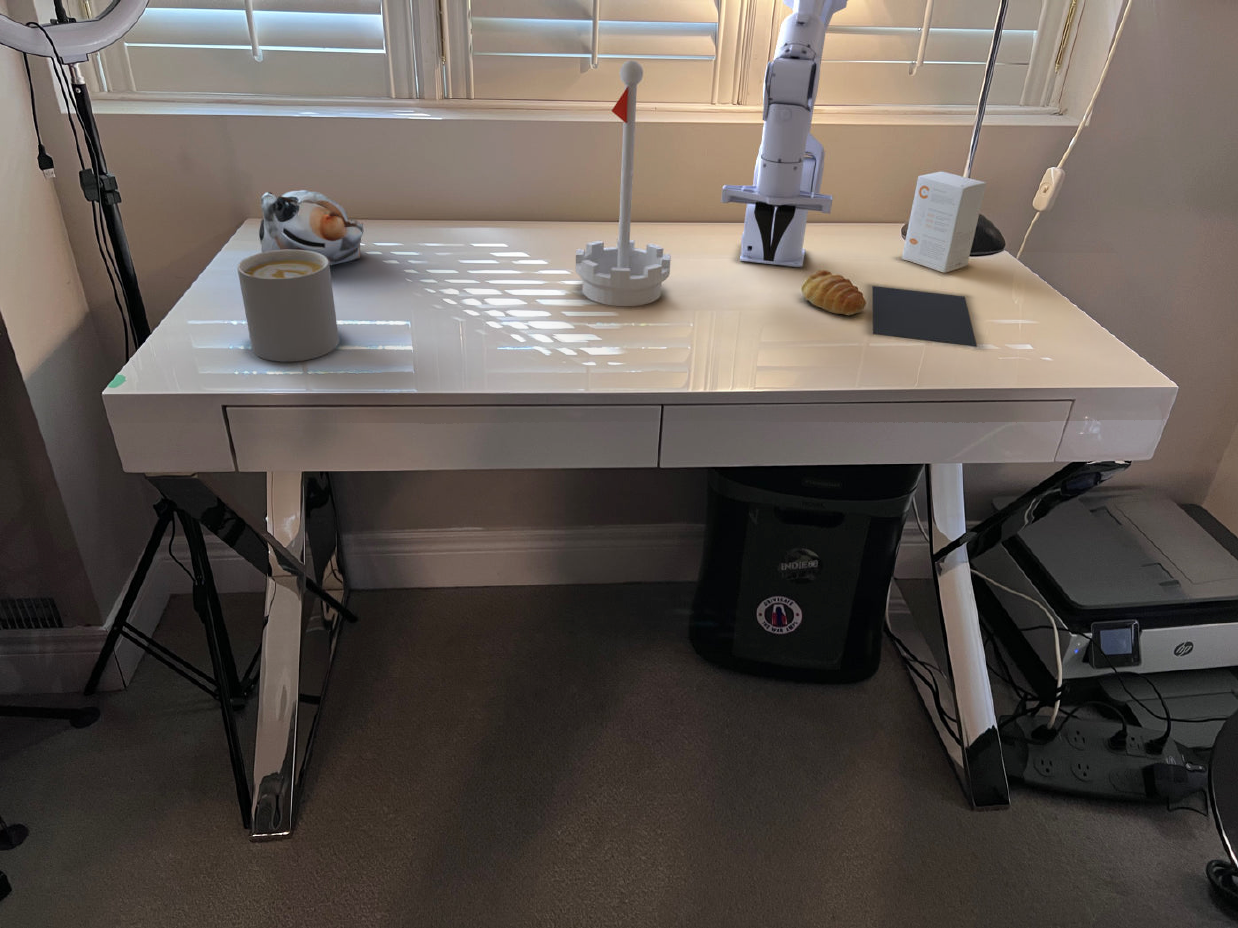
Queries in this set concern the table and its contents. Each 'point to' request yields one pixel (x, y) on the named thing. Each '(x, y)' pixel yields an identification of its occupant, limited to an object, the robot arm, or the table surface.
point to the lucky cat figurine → (309, 226)
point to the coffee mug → (289, 304)
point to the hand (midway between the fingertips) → (768, 259)
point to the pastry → (833, 293)
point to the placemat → (922, 316)
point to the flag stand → (624, 229)
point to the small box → (943, 221)
